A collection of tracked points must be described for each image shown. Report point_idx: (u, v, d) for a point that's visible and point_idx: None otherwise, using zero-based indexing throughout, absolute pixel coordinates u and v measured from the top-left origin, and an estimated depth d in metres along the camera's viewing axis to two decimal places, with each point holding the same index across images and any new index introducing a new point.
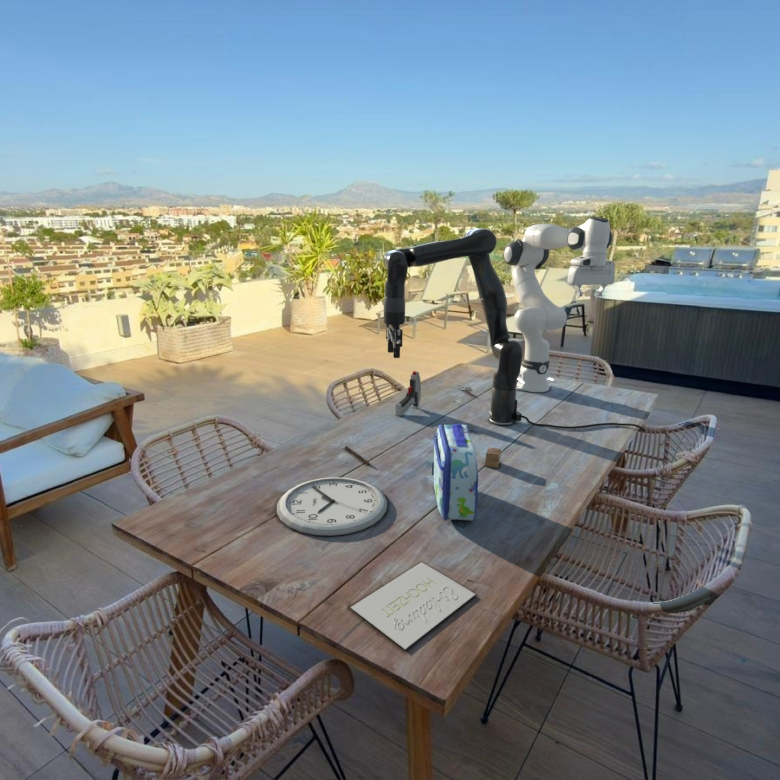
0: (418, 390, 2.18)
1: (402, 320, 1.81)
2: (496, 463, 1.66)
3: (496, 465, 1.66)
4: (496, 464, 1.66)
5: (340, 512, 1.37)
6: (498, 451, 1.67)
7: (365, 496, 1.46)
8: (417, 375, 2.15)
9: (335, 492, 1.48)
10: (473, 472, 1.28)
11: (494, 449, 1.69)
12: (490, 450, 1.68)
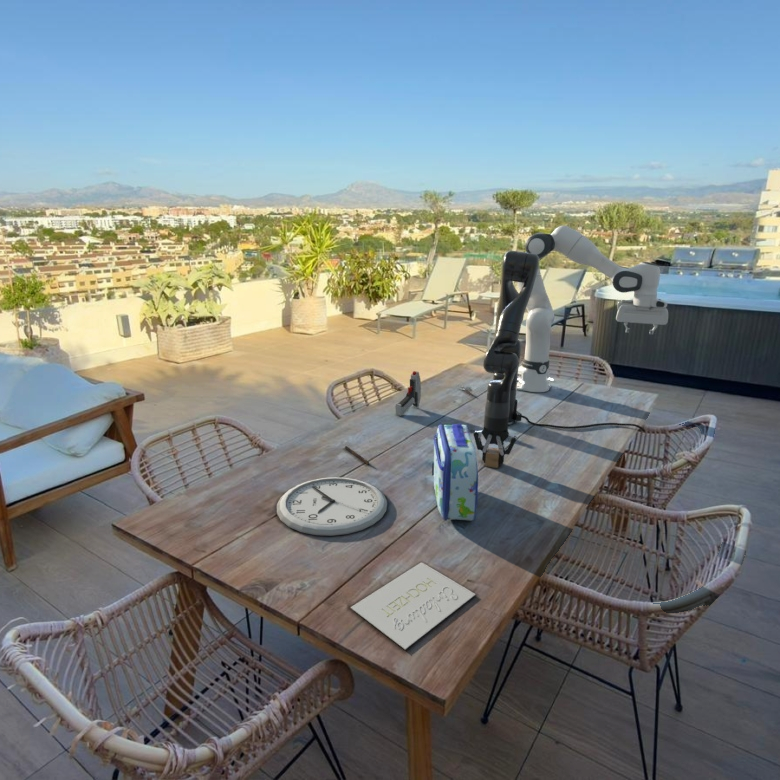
0: (418, 390, 2.18)
1: (485, 424, 1.64)
2: (496, 463, 1.66)
3: (496, 465, 1.66)
4: (496, 464, 1.66)
5: (340, 512, 1.37)
6: (498, 451, 1.67)
7: (365, 496, 1.46)
8: (417, 375, 2.15)
9: (335, 492, 1.48)
10: (473, 472, 1.28)
11: (494, 449, 1.69)
12: (490, 450, 1.68)
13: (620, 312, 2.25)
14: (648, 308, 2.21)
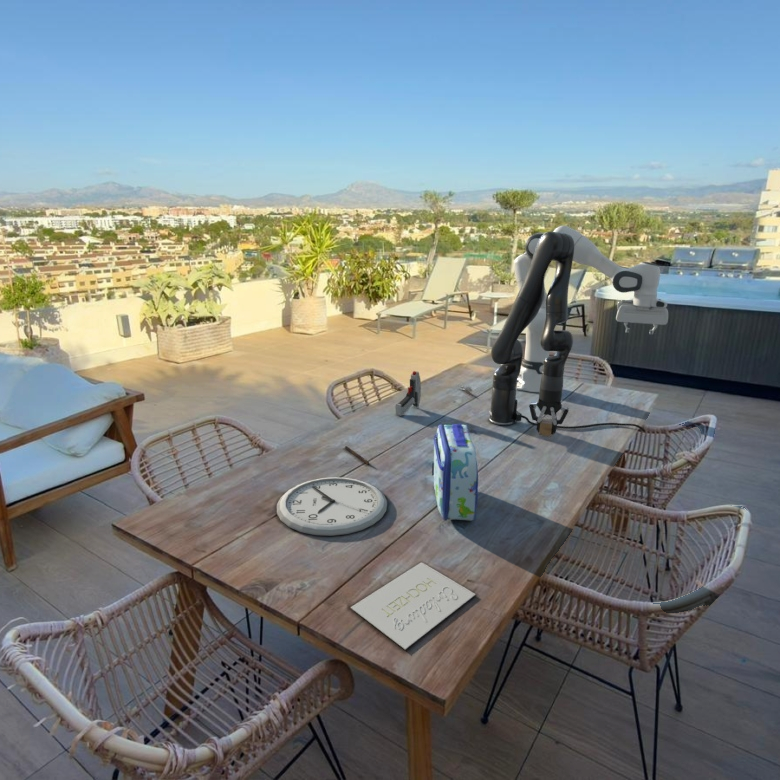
0: (418, 390, 2.18)
1: (540, 396, 1.82)
2: (549, 432, 1.84)
3: (549, 434, 1.85)
4: (549, 433, 1.84)
5: (340, 512, 1.37)
6: (551, 421, 1.85)
7: (365, 496, 1.46)
8: (417, 375, 2.15)
9: (335, 492, 1.48)
10: (473, 472, 1.28)
11: (547, 420, 1.87)
12: (544, 420, 1.87)
13: (620, 312, 2.25)
14: (648, 308, 2.21)
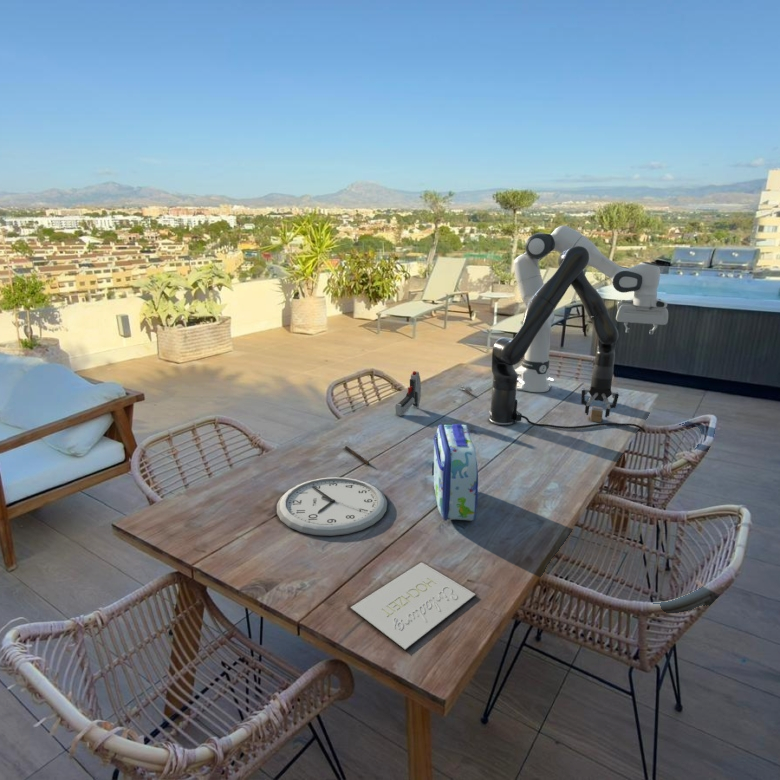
0: (418, 390, 2.18)
1: (593, 384, 2.05)
2: (600, 418, 2.08)
3: (600, 420, 2.08)
4: (600, 419, 2.08)
5: (340, 512, 1.37)
6: (601, 409, 2.09)
7: (365, 496, 1.46)
8: (417, 375, 2.15)
9: (335, 492, 1.48)
10: (473, 472, 1.28)
11: (597, 407, 2.10)
12: (594, 408, 2.10)
13: (620, 312, 2.25)
14: (648, 308, 2.21)
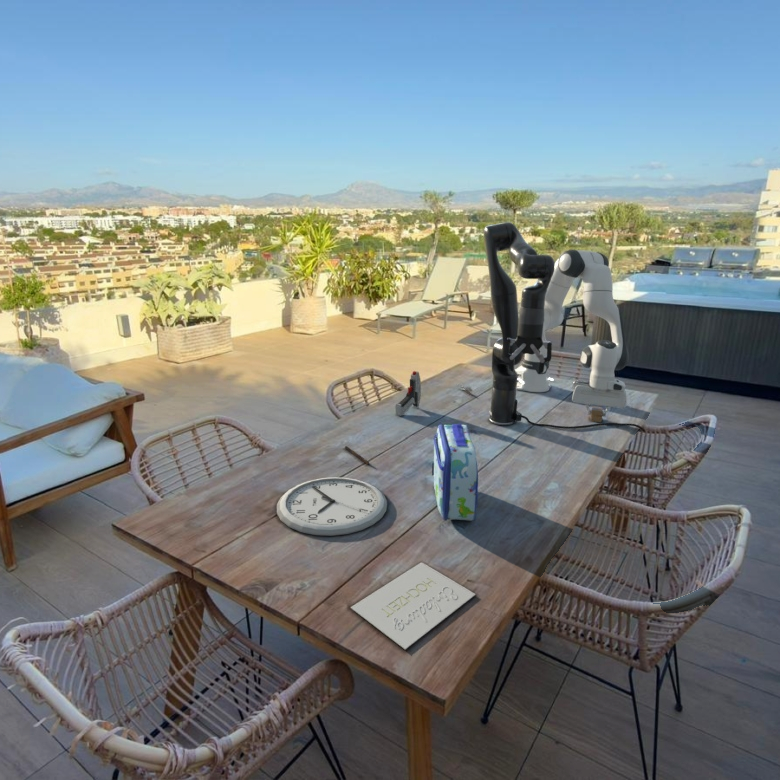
0: (418, 390, 2.18)
1: (519, 332, 1.61)
2: (600, 418, 2.08)
3: (600, 420, 2.08)
4: (600, 419, 2.08)
5: (340, 512, 1.37)
6: (601, 409, 2.09)
7: (365, 496, 1.46)
8: (417, 375, 2.15)
9: (335, 492, 1.48)
10: (473, 472, 1.28)
11: (597, 407, 2.10)
12: (594, 408, 2.10)
13: (575, 393, 2.09)
14: (605, 390, 2.04)
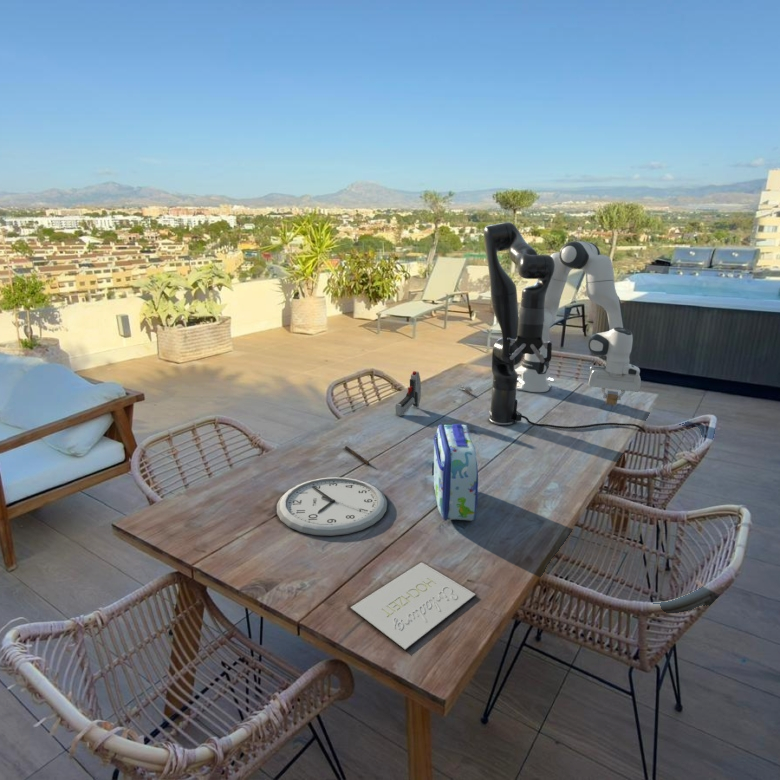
0: (418, 390, 2.18)
1: (519, 332, 1.61)
2: (615, 402, 2.19)
3: (615, 403, 2.19)
4: (615, 402, 2.19)
5: (340, 512, 1.37)
6: (616, 393, 2.20)
7: (365, 496, 1.46)
8: (417, 375, 2.15)
9: (335, 492, 1.48)
10: (473, 472, 1.28)
11: (612, 391, 2.21)
12: (610, 392, 2.21)
13: (592, 377, 2.20)
14: (620, 375, 2.15)
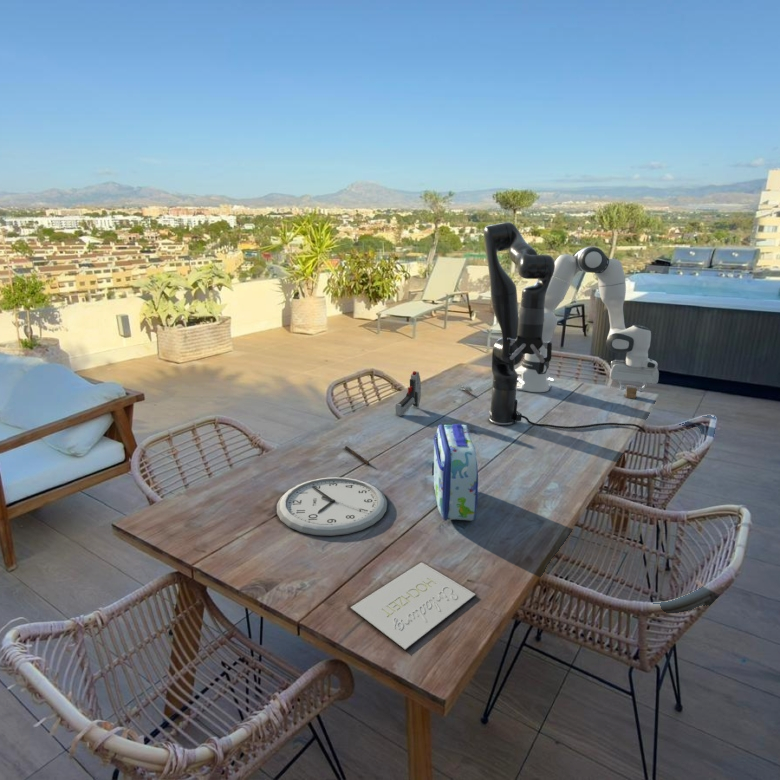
0: (418, 390, 2.18)
1: (519, 332, 1.61)
2: (635, 395, 2.38)
3: (634, 396, 2.38)
4: (634, 395, 2.38)
5: (340, 512, 1.37)
6: (635, 387, 2.39)
7: (365, 496, 1.46)
8: (417, 375, 2.15)
9: (335, 492, 1.48)
10: (473, 472, 1.28)
11: (631, 386, 2.40)
12: (629, 386, 2.40)
13: (613, 370, 2.39)
14: (640, 368, 2.34)
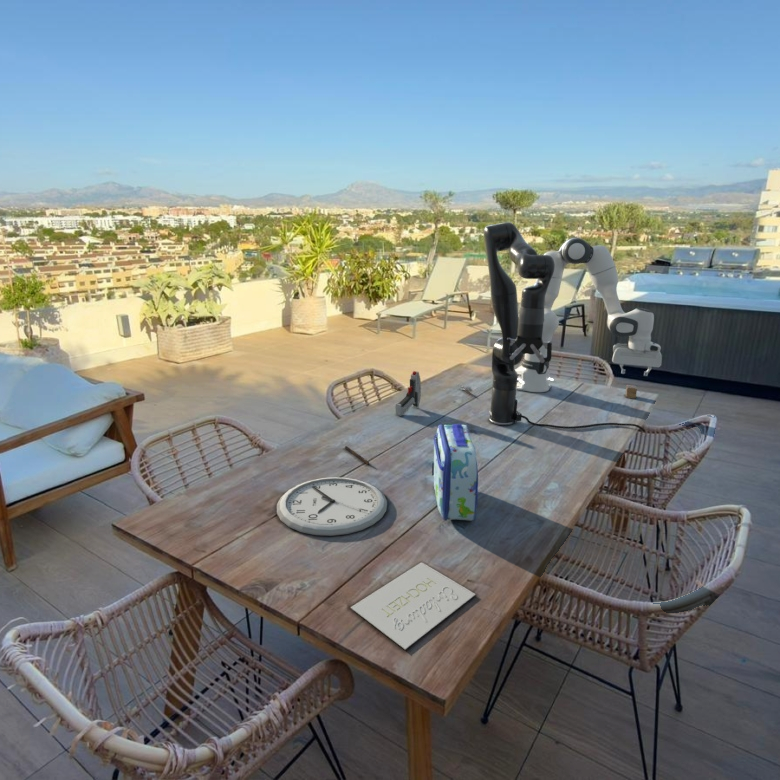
0: (418, 390, 2.18)
1: (519, 332, 1.61)
2: (635, 395, 2.38)
3: (634, 396, 2.38)
4: (634, 395, 2.38)
5: (340, 512, 1.37)
6: (635, 387, 2.39)
7: (365, 496, 1.46)
8: (417, 375, 2.15)
9: (335, 492, 1.48)
10: (473, 472, 1.28)
11: (631, 386, 2.40)
12: (629, 386, 2.40)
13: (616, 354, 2.36)
14: (642, 351, 2.32)
